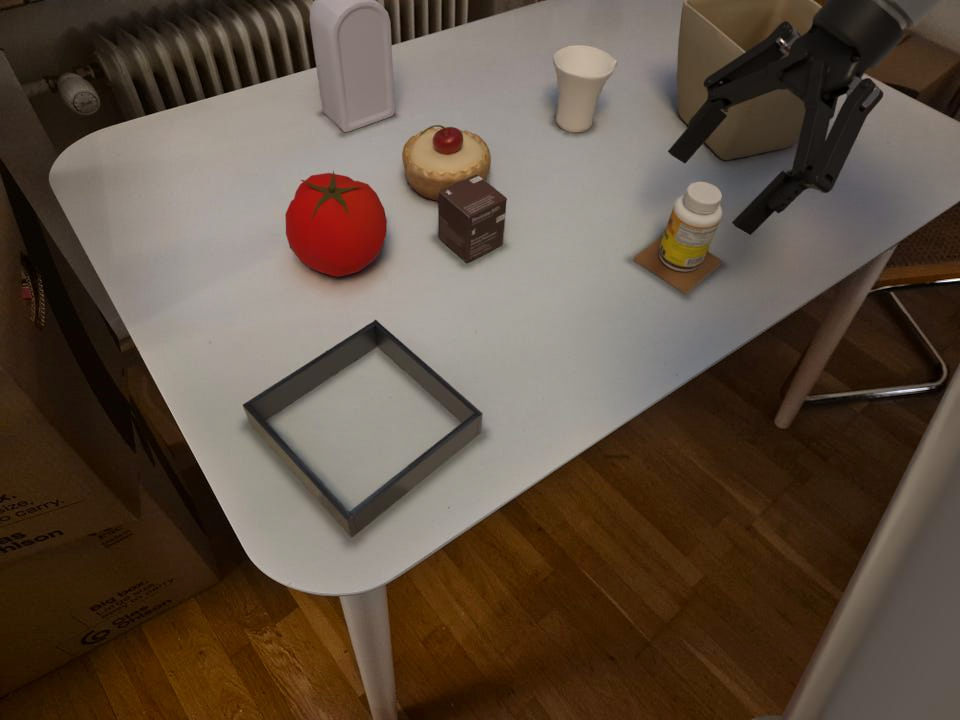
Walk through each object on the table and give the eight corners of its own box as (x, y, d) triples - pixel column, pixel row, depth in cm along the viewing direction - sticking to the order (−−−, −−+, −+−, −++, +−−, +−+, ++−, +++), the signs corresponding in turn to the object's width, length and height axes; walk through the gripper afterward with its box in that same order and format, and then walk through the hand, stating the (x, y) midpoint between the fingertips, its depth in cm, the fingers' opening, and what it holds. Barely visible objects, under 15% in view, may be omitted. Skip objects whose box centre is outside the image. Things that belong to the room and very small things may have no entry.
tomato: (282, 239, 83) (264, 163, 74) (371, 218, 86) (364, 142, 77) (308, 305, 76) (292, 230, 67) (403, 279, 79) (399, 205, 71)
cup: (607, 140, 100) (622, 76, 92) (545, 136, 99) (554, 72, 92) (601, 107, 105) (615, 45, 97) (543, 104, 105) (551, 41, 97)
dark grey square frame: (480, 432, 67) (483, 413, 64) (351, 537, 59) (347, 521, 57) (378, 340, 73) (375, 319, 71) (250, 424, 66) (242, 404, 63)
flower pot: (823, 156, 100) (882, 45, 87) (717, 180, 95) (763, 66, 82) (748, 91, 111) (790, -17, 97) (649, 109, 106) (680, -2, 92)
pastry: (502, 198, 90) (508, 141, 83) (419, 217, 87) (418, 159, 80) (469, 148, 96) (472, 91, 89) (391, 164, 93) (387, 106, 86)
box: (466, 264, 82) (468, 217, 76) (436, 237, 84) (436, 190, 79) (503, 245, 84) (508, 198, 78) (474, 219, 87) (476, 172, 81)
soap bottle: (346, 136, 97) (326, -34, 79) (322, 113, 100) (297, -55, 82) (398, 118, 100) (390, -50, 82) (374, 96, 104) (361, -69, 86)
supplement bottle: (666, 237, 86) (689, 170, 78) (707, 254, 84) (735, 187, 76) (650, 262, 83) (673, 196, 75) (692, 280, 81) (721, 214, 73)
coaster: (721, 264, 84) (723, 260, 84) (685, 294, 80) (687, 291, 80) (669, 232, 87) (671, 228, 87) (633, 260, 84) (634, 256, 83)
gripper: (776, -61, 66) (633, 119, 77) (964, 45, 51) (752, 253, 61) (812, -20, 71) (672, 144, 81) (995, 89, 55) (792, 275, 66)
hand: (706, 191), depth 71 cm, fingers open, 13 cm apart
